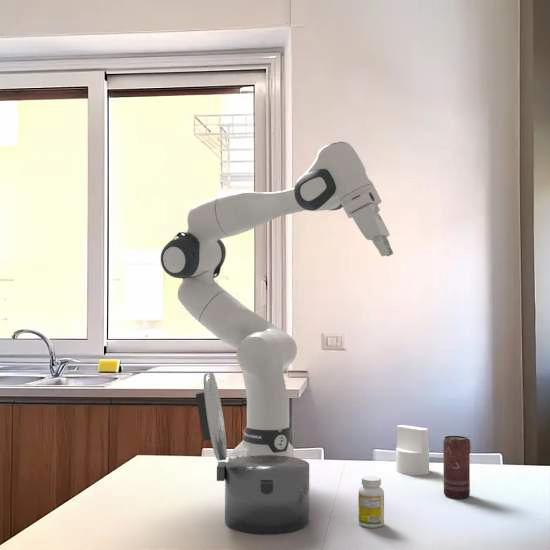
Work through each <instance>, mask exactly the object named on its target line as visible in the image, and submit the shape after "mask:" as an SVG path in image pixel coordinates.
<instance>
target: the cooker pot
mask: <svg viewBox="0 0 550 550" xmlns="http://www.w3.org/2000/svg"><path fill="white" fill-rule="evenodd" d="M216 465H217V466H216V482H224V487H225V488H224V523H225V525H226V526H227V527H228V528H230V529H232V530H234V531H237V532H240V533H244V534H245V533H246V534H250V533H251V534H252V535H264V534H270V535H280V534H279V533H284V534H288V532H290V533H293V531H294V532H297V530H298V531H299V530H303V529H305V528H306V527H308V526H309V524H310V463H309V462H308V461H306V460H304V459H302V458H298V457H295V456H294V457H288V456H276V455H258V456H247V457H240V458H236V459H232V460H230V461H218V463H217V464H216ZM304 527H305V528H304ZM302 528H303V529H302Z"/></svg>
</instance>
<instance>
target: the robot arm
mask: <svg viewBox="0 0 550 550" xmlns="http://www.w3.org/2000/svg"><path fill="white" fill-rule="evenodd" d="M381 203H382V199H381V197H380V195H379V193H378V191H377V188H376V187H375V185H374V183H373V182H372V180H370V178H369V177H368V175H367V171H366V168H365V166H364V163H363V161H362V160H361V158H360V156H359V154H358V153H357V151H356V149H354V147H353V146H352V145H351V144H350V143H348V142H346V141H336V142H333V143H330V144H327V145H325V146H323V147H322V148H321V149H319V150H318V152H317V156H316V158H315V160H314V161H313V163H312V164H311V166H310V167H309V168H308V170H307V171H305V173H304V174H303V175H301V176H299V178H298V179H297V180H296V182H295V184H294V187H293V188H289V189H286V190H281V191H275V192H274V191H273V192H261V191H234V192H227V193H224V194H223V193H222V194H220V195H217V196H214V197H212V198H208V199H206V200H204V201H202V202H200V203H197V205H194V206H193V207H192V208H191V209H190V210H189V211H188V214H187V225H188V226H187V230H181V231H179V232H178V233H177V234H176V235H175V236H174V237H173V238H172V239H171V240H170V241H168V242H167V244H165V245H164V247H163V248H162V250H161V253H160V264H161V267H162V269H163V270H164V272H165V273H166V274H167V275H168V276H171V277H172V278H176V279H182V282H181V283H180V285H179V286H178V289H177V298H178V301H179V302H180V304H181V305H182V307H184V308H185V310H186V311H187V312H188V313H189V314H190V315H191V317H193V318H194V319H195V320H196V321H198V323H200V324H201V325H202V326H203V327H205V328H206V329H207V331H209V332H211V334H213V335H214V336H215V337H216V338H218V339H219V340H220V341H221V342H223V343H225V344H228V345H229V346H231V347H233V348H234V349H236V360H237V363H238V365H239V367H240V368H241V373H242V377H243V378H242V379H243V382H244V387H245V394H246V395H245V396H246V426H245V427H244V426H243V427H241V429H243V430H242V431H241V432H242V433H243V436H242V441H241V442H240V443H239V444H238V445H237V446H236V447H235V448H233V450H232V451H230V453H229V456H228V459H227V460H228V461H230V460H232V459H236V458H240V457H247V456H258V455H276V456H288V457H294V458H295V451H294V447H293V445H292V444H291V443H290V442H291V440H292V427H291V426H290V394H289V393H288V390H287V387H286V386H287V385H286V381H285V376H284V370H285V369H287V368H289V366H291V365H292V363H293V362H294V360H295V359H296V357H297V353H298V352H297V351H298V347H297V343H296V340H295V339H294V338H293V337H292V336H291V335H290V334H288V333H287V332H285V331H284V330H281V328H279V327H277V325H275V324H273V323H272V322H270V321H269V320H267V319H265V318H264V317H262V316H261V315H259V314H257V313H255V312H254V311H252V310H251V309H250V308H249V307H247V306H245V305H244V304H243V303H242V302H241V301H240V300H238V299H237V298H235V297H234V296H233V295H232V294H230V293H229V292H228V291H227V290H225V289H224V288H223V287H222V286H220V285H219V283H217V282H216V280H215V279H216V278H217V277H219V276H220V273H221V269H222V266H223V264H224V262H225V260H226V256H227V255H226V254H227V250H226V249H227V248H226V246H225V243H224V242H223V241H222V239H225V238H230V237H234V236H237V235H240V234H243V233H246V232H248V231H251V230H252V229H255V228H258V227H259V226H262V225H264V224H267V223H268V222H270V221H273V220H276V219H278V218H280V217H283V216H286V215H291V214H294V213H295V214H296V213H299V212H303V211H311V212H318V211H319V212H320V211H339V210H341V209H342V208H343V210H344V212H345V215H346V216H347V218H348V219H353V221H354V222H355V225H356V226H357V228H358V229H359V231H360V232H361V234H362V235H363V236H364V238H365V239H366V240H368V241H372V244H373V245H374V246H375V248H376V249H377V250H378V253H379V254H380V256H381V257H391V256H393V254H394V251H393V248H392V246H391V244H390V241H389V239H388V237H389V236H390V232H389V230H388V227H387V226H386V224H385V222H384V220H383V218H382V216H381V215H380V213H379V212H380V210H381V208H380V207H379V205H380V204H381ZM228 461H227V462H228Z"/></svg>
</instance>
